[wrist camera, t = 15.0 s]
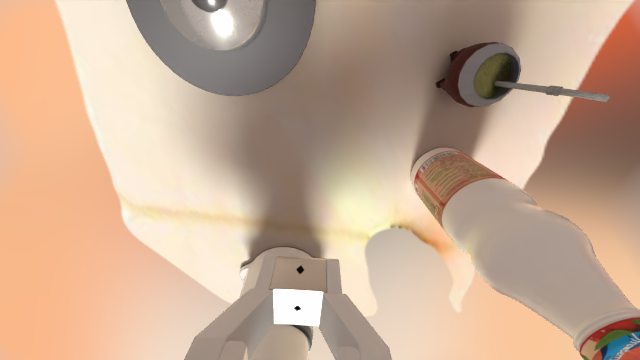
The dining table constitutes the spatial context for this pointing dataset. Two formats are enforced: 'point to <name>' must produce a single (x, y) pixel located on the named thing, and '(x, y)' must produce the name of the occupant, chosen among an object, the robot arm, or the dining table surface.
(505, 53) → the mate gourd
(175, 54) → the turntable
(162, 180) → the dining table surface
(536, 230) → the fruit juice
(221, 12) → the cover
